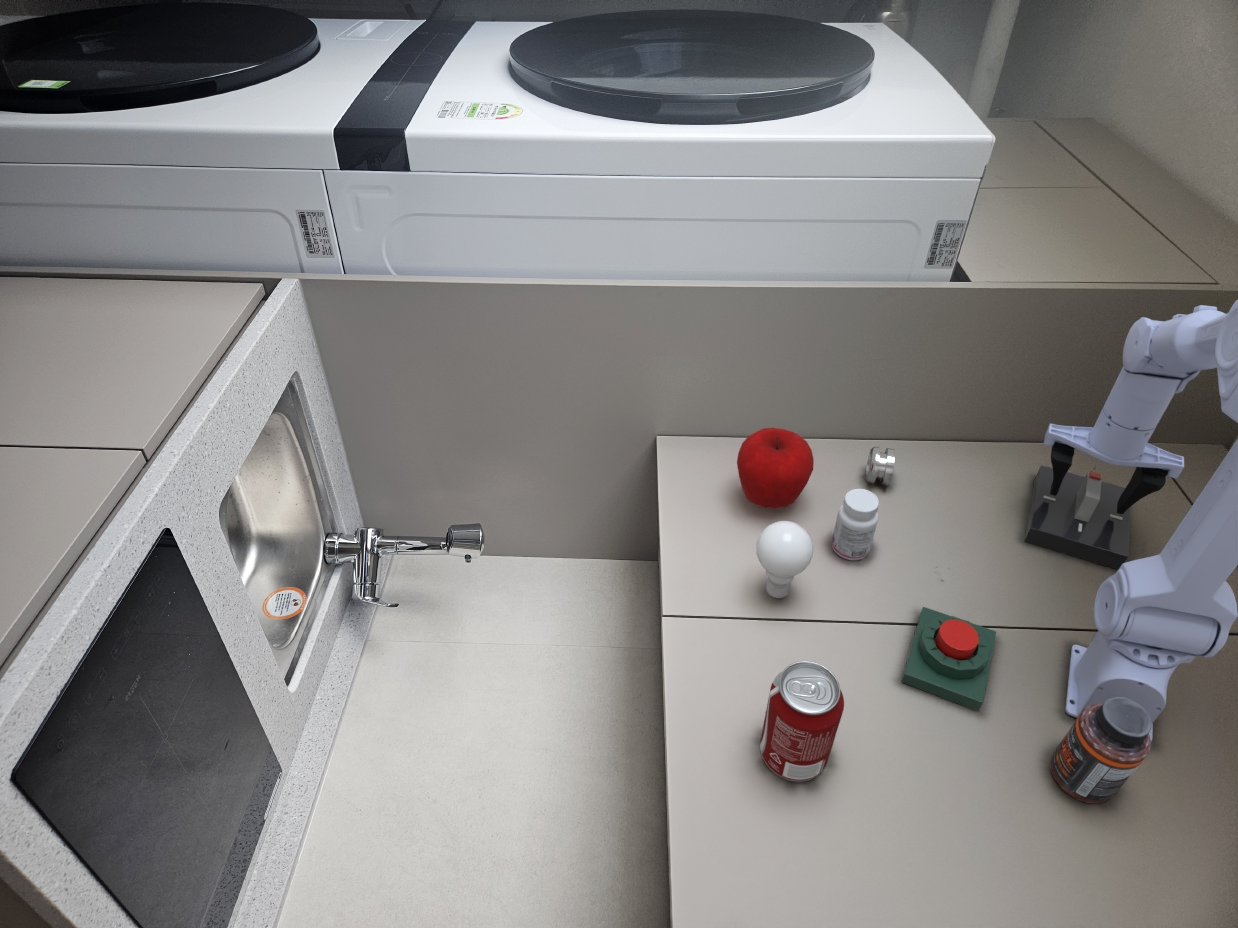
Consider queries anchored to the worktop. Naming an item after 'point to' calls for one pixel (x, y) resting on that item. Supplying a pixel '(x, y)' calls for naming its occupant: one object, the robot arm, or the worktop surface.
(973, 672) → the button block
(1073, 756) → the supplement bottle
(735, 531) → the worktop surface
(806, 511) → the worktop surface
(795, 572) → the lightbulb
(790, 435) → the apple
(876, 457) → the grooved metal pulley
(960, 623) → the button
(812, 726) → the soda can
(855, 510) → the pill bottle
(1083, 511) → the knob
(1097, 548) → the block
